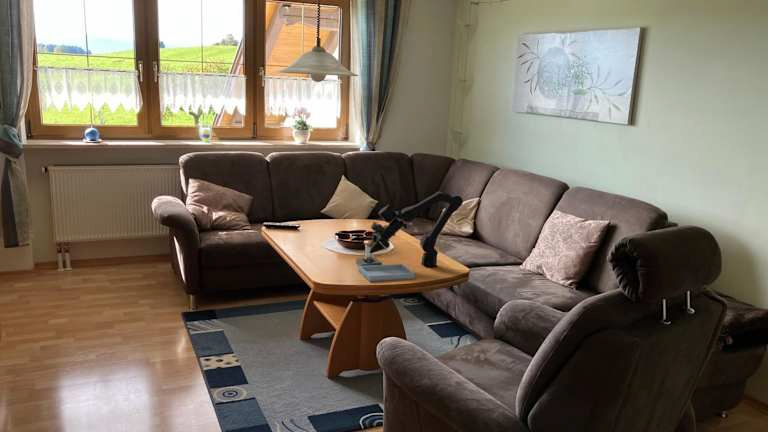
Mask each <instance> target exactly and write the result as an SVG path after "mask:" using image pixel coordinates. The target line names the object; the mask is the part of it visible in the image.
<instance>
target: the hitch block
mask: <svg viewBox="0 0 768 432" xmlns="http://www.w3.org/2000/svg"><path fill="white" fill-rule="evenodd" d="M355 263H356V265H357V266H358V267H359V266H374V265H383V262H382V261H380V259H378V258H376V257H374V256H373V262H365V257H359V258H358V257H357V258H356V259H355Z"/></svg>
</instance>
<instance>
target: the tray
mask: <svg viewBox="0 0 768 432" xmlns="http://www.w3.org/2000/svg"><path fill="white" fill-rule="evenodd" d="M358 273H359V274H361V276H363V277H364V279H366V280H367V281H368V282H369V283H370V282H382V281H383V282H385V281H401V280H414V279H415V277H416V276H415V275H416V274H415V272H414V271H412V270H411V269H410V268H408V267H407V266H406V265H405V264H403V263H395V264H394V263H393V264H382V265H374V266H358Z"/></svg>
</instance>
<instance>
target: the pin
mask: <svg viewBox="0 0 768 432" xmlns="http://www.w3.org/2000/svg"><path fill="white" fill-rule="evenodd" d="M363 244H364V245H365V250H364V258H365V262H373V257H374V253H370V250H371V249H372V248H373V247H374V244H375V241H373V240H372V239H366V240H365V239H364V241H363Z"/></svg>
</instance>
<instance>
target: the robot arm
mask: <svg viewBox="0 0 768 432" xmlns="http://www.w3.org/2000/svg"><path fill="white" fill-rule="evenodd" d="M439 202H443V203H446V204H445V207H444V210H443V211H442V213H441V215H440V216H439V217H438V219H437V220H436V222H435V223H434V225H433V227H432V228H431V230H430V231H429V232H428V233H427V234H426V233H424V234H423V235H422V237H420V239H419V240H420V241H419V247H420V248H421V249H422V251H423V254H422V257H421V266H423V267H424V268H426V269H427V268H437V267H439V266H438V265H437V261H438V254H439V252H438V250H437V249H436V248H435V246H436V243H437V239H438V237H439V235H440V234H441V232H442V230H443V229H444V227H445V226H446V224H447V223H448V221H449V220H450V218H451V216H452V215H453V214H454V213H455V212H457V211H458V210H459V209H460V208H461V206H462V205H463V204H464V203H463V202H464V201H463V198H462V197H461V196H460V195H459V194H457V193H451V194H450V193H447V192H446V193H445V192H441V191H436V192H435V193H434V194H432V195H430V196H428V197H426V198H425V199H423V200H422V201H420V202H419V203H416V204H415V205H411V206H408V207H405V208H402V209H401V210H397V211H396V210H394V209H393V208H392V206H391V205H390V204H387V205H386V206H384V207H382V208H381V209H380V210H379V211H378V215H379V216H380V217H381V218H382V219H383V220H384V221H385V223H388V224H384V225H382V224H380V223H377V222H375V221H373V222H372V224H371V226H370V229H371V230H372V231H373V233H372V238H371V240H373V241H375V244H374V247H373V248H372V249H371V250H370V253H373V254H374V253H376V252H379V251H383V250H387V249H389V247H390V246H391V244H390V239H392V238H393V237H395V236H396V234H397V233H398V232H399V231H400V230H401V229H402V228H404V229H405V230H408V227H407V226H408V223H409V222H412V221H413V220H414V219H416V217H417V216H418V215H419V214H420V213H422V212H423V211H425V210H427V209H429V208H430V207H432V206H435V204H437V203H439Z"/></svg>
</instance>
